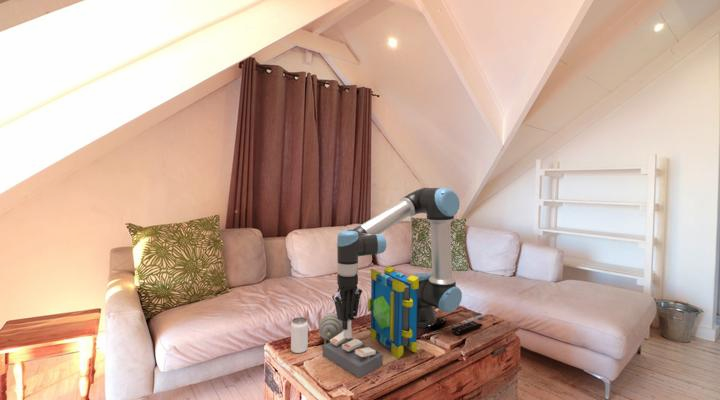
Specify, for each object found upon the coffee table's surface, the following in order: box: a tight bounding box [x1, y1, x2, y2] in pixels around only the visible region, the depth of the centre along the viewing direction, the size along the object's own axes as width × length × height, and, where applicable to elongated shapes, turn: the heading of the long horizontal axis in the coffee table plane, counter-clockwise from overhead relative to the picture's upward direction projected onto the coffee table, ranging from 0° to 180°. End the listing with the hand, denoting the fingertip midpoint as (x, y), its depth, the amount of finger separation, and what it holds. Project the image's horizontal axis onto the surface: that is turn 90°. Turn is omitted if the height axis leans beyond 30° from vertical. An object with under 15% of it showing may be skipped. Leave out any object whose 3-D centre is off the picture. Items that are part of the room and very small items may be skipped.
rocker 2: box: [342, 338, 363, 352], centre depth 122 cm, size 7×4×2 cm, turn 134°
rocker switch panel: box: [322, 337, 384, 379], centre depth 122 cm, size 12×20×5 cm, turn 44°
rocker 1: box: [329, 330, 347, 346], centre depth 127 cm, size 7×4×2 cm, turn 134°
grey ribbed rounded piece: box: [318, 312, 344, 345], centre depth 136 cm, size 11×17×11 cm, turn 3°
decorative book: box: [367, 265, 419, 360], centre depth 133 cm, size 14×23×30 cm, turn 29°
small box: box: [355, 346, 377, 357], centre depth 117 cm, size 7×4×2 cm, turn 135°
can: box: [290, 316, 309, 354], centre depth 129 cm, size 6×6×12 cm
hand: (347, 336), depth 120 cm, fingers closed
